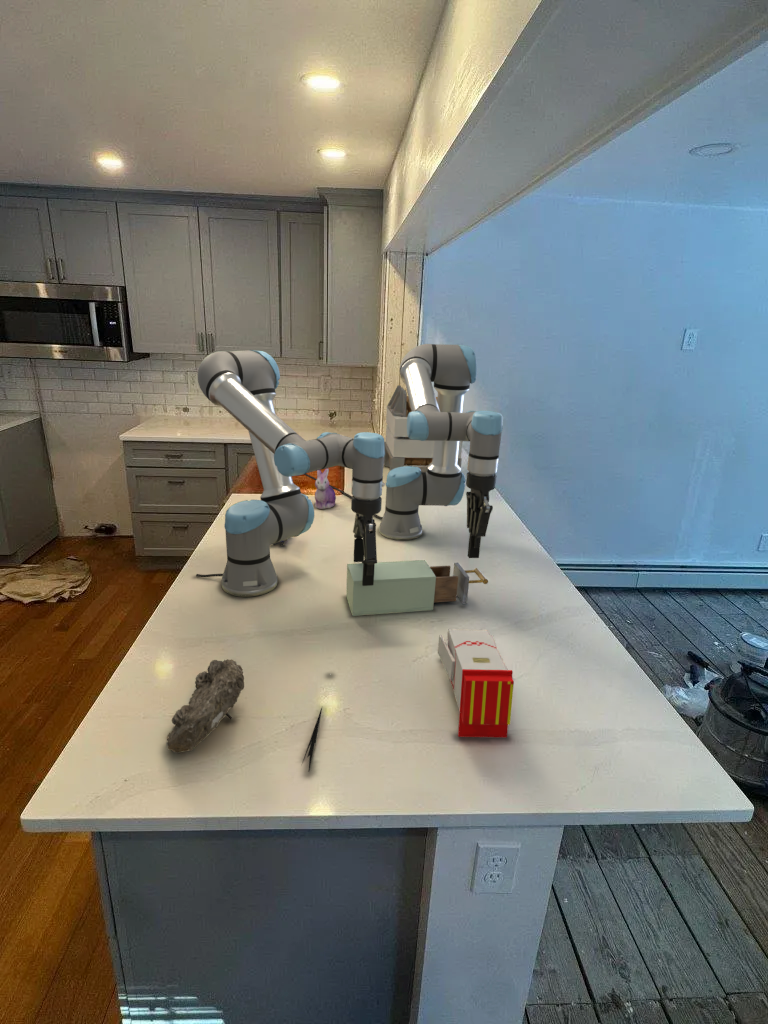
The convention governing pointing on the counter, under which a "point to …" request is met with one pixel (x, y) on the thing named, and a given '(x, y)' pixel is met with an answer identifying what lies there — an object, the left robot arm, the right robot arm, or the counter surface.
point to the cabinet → (391, 588)
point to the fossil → (206, 705)
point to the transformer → (405, 436)
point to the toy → (478, 682)
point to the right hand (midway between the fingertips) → (473, 556)
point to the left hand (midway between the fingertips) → (363, 572)
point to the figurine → (324, 491)
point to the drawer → (454, 582)
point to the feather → (313, 740)
